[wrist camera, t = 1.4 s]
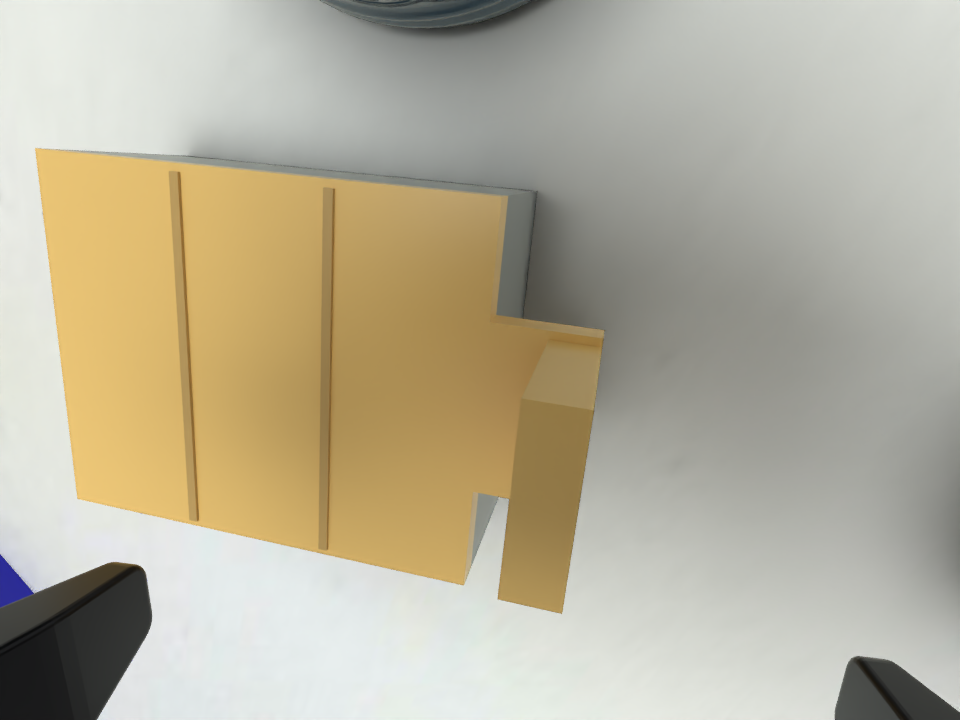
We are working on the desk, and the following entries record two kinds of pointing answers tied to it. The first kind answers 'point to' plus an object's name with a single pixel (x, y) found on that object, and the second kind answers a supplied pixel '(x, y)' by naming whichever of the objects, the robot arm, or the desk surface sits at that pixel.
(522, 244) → the parts tub
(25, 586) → the blue semicircular mounting bracket
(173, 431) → the snap lid
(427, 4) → the canister
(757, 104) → the desk surface
